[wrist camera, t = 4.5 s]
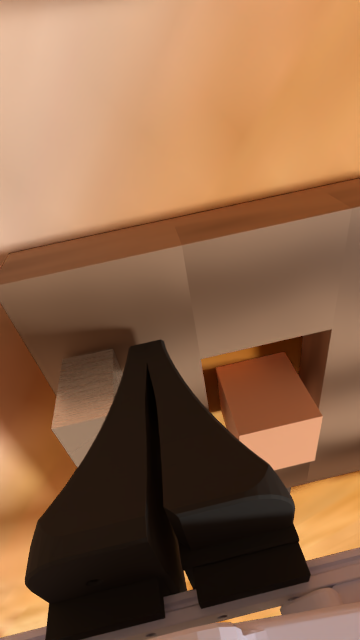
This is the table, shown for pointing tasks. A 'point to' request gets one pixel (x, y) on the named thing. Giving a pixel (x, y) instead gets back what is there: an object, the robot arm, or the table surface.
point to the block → (270, 410)
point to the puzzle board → (212, 300)
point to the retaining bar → (84, 399)
